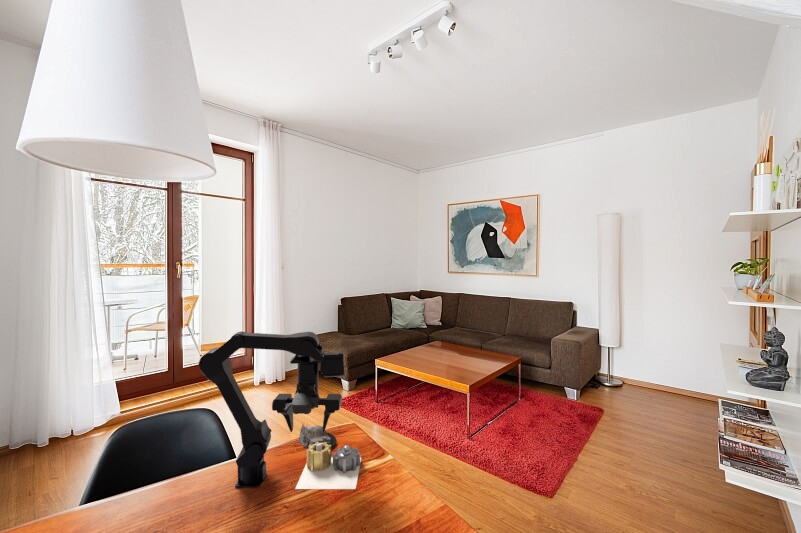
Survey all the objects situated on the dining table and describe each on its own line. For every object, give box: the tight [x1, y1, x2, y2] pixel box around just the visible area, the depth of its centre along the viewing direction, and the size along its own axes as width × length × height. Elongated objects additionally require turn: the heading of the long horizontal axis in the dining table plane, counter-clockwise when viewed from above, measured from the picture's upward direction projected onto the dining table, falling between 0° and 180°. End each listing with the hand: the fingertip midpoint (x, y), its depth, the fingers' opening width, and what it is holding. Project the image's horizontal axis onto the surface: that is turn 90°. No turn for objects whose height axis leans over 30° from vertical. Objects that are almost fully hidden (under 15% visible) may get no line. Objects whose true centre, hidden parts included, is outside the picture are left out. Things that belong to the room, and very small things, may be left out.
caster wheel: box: [297, 422, 338, 450], centre depth 119 cm, size 7×11×10 cm
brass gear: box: [306, 442, 332, 471], centre depth 107 cm, size 7×7×5 cm
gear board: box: [294, 443, 362, 490], centre depth 103 cm, size 16×15×8 cm
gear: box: [332, 444, 361, 473], centre depth 107 cm, size 8×8×6 cm
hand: (307, 431), depth 104 cm, fingers open, 9 cm apart
